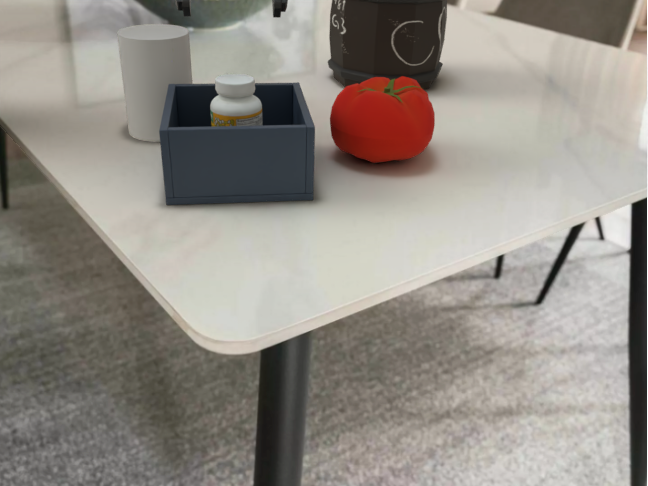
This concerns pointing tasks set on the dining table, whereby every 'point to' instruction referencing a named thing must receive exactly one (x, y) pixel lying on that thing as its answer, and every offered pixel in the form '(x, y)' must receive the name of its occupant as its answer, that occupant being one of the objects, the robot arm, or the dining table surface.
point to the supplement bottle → (235, 101)
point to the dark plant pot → (387, 39)
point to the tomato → (382, 119)
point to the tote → (237, 148)
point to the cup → (151, 73)
